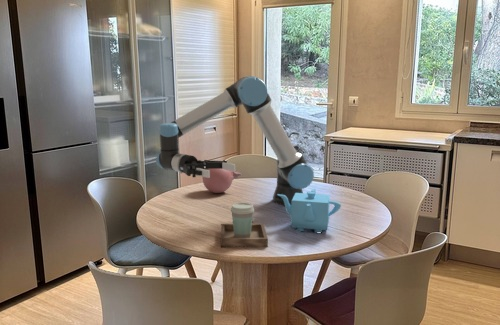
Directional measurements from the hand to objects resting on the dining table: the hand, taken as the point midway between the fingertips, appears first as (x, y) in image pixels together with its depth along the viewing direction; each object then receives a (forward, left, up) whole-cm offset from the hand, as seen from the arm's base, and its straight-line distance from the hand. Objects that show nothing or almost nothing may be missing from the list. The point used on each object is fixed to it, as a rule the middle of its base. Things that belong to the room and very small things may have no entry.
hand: (222, 170), depth 163 cm
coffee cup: (-7, +7, -24) cm, 26 cm away
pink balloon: (0, -59, -24) cm, 64 cm away
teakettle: (-34, -4, -24) cm, 42 cm away
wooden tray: (-8, +7, -24) cm, 26 cm away
